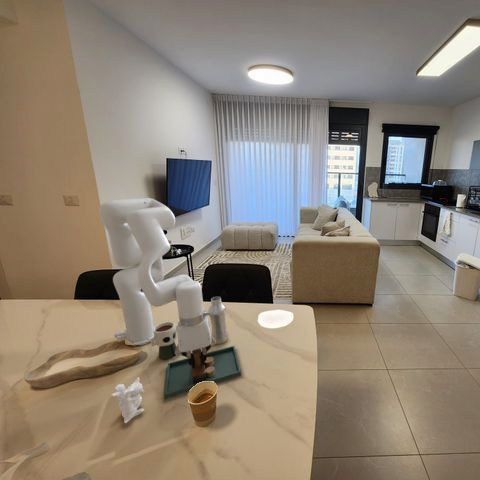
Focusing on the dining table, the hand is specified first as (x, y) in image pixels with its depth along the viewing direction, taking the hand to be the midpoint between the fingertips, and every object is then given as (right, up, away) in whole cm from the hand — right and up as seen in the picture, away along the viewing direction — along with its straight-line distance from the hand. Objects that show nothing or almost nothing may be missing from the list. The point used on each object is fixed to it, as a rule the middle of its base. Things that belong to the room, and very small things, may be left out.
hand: (198, 363), depth 91 cm
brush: (0, -3, +1) cm, 4 cm away
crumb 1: (+2, -2, +5) cm, 6 cm away
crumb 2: (+4, -4, 0) cm, 6 cm away
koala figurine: (-13, -8, -14) cm, 21 cm away
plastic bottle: (+1, 0, +19) cm, 19 cm away
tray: (+1, -4, +2) cm, 5 cm away
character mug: (-16, -2, +10) cm, 19 cm away
